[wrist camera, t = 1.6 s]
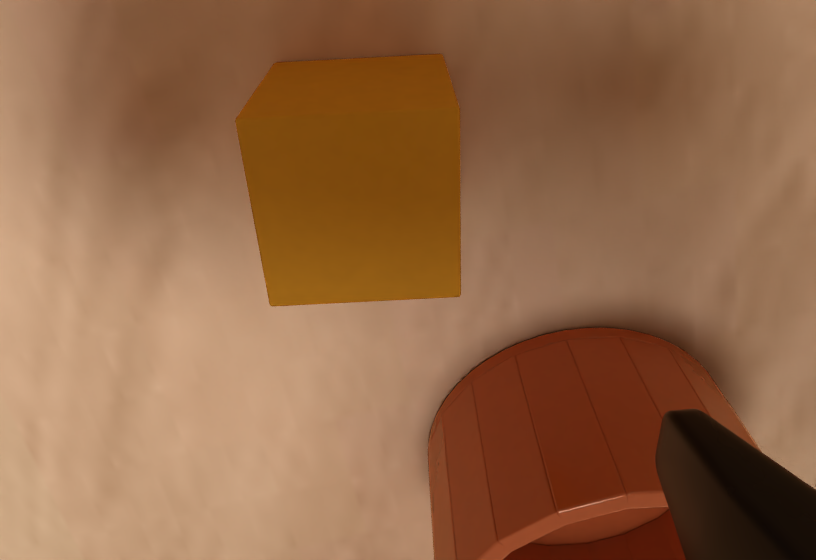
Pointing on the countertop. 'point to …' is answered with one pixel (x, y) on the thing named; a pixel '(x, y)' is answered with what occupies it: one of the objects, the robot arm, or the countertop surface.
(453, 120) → the block
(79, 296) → the countertop surface
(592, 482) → the crock
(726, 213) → the countertop surface
